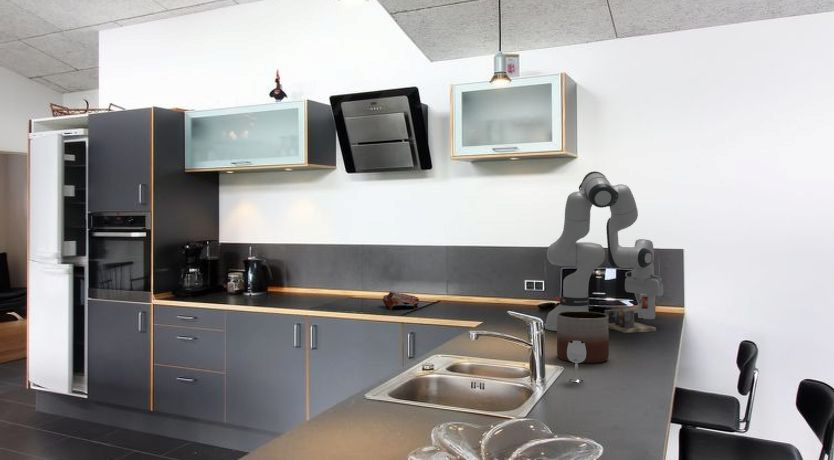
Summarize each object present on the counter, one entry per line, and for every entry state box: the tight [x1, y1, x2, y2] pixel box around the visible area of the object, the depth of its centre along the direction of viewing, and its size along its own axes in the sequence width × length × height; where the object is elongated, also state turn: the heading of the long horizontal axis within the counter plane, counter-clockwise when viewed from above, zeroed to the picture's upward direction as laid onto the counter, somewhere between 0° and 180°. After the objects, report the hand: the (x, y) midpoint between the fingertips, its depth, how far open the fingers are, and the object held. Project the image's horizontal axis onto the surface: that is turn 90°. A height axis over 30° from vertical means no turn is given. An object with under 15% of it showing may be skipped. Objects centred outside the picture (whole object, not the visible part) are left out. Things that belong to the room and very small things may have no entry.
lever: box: [603, 296, 648, 319], centre depth 279 cm, size 24×4×8 cm, turn 113°
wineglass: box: [567, 341, 586, 384], centre depth 186 cm, size 6×6×12 cm
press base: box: [608, 310, 657, 334], centre depth 274 cm, size 16×15×9 cm
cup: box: [637, 294, 657, 320], centre depth 305 cm, size 8×8×12 cm
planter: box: [556, 311, 610, 364], centre depth 216 cm, size 18×18×16 cm
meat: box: [382, 290, 420, 311], centre depth 342 cm, size 21×21×10 cm
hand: (643, 303), depth 283 cm, fingers open, 4 cm apart
